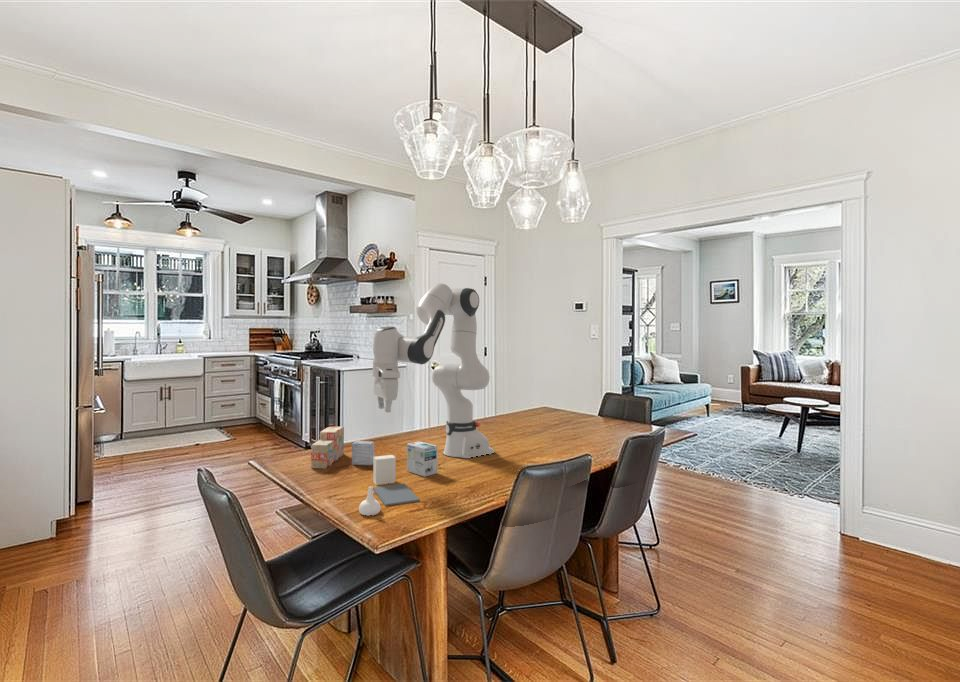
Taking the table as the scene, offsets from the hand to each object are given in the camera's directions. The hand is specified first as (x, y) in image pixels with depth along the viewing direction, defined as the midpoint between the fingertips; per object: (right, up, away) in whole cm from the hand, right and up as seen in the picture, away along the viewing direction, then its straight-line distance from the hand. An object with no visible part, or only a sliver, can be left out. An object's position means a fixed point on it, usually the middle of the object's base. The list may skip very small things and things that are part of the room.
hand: (384, 410), depth 176 cm
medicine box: (-12, -25, +21) cm, 35 cm away
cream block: (0, -25, -2) cm, 25 cm away
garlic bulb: (+2, -27, -30) cm, 40 cm away
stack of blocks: (-28, -24, +24) cm, 44 cm away
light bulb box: (+12, -25, +10) cm, 30 cm away
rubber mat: (+7, -26, -15) cm, 30 cm away
